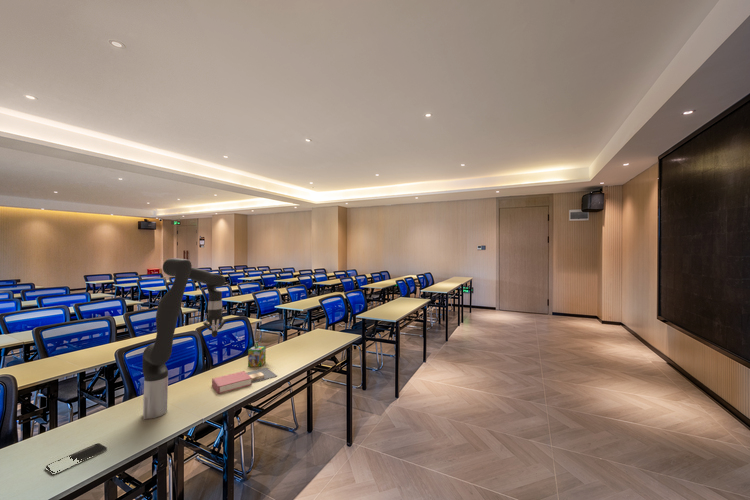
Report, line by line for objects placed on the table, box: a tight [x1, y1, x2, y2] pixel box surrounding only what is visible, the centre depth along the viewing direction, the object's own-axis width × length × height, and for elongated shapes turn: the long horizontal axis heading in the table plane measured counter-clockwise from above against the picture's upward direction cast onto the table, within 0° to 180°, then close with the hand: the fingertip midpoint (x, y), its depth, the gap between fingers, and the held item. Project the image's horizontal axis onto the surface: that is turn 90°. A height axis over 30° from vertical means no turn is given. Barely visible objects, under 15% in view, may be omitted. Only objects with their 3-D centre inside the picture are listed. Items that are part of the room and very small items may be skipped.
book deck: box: [211, 370, 253, 395], centre depth 173 cm, size 18×14×4 cm
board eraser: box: [249, 372, 264, 382], centre depth 182 cm, size 9×6×2 cm, turn 131°
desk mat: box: [245, 367, 278, 384], centre depth 188 cm, size 16×18×1 cm
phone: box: [45, 443, 108, 473], centre depth 110 cm, size 8×1×15 cm
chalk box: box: [247, 342, 267, 368], centre depth 207 cm, size 9×9×15 cm
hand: (214, 336), depth 178 cm, fingers closed
